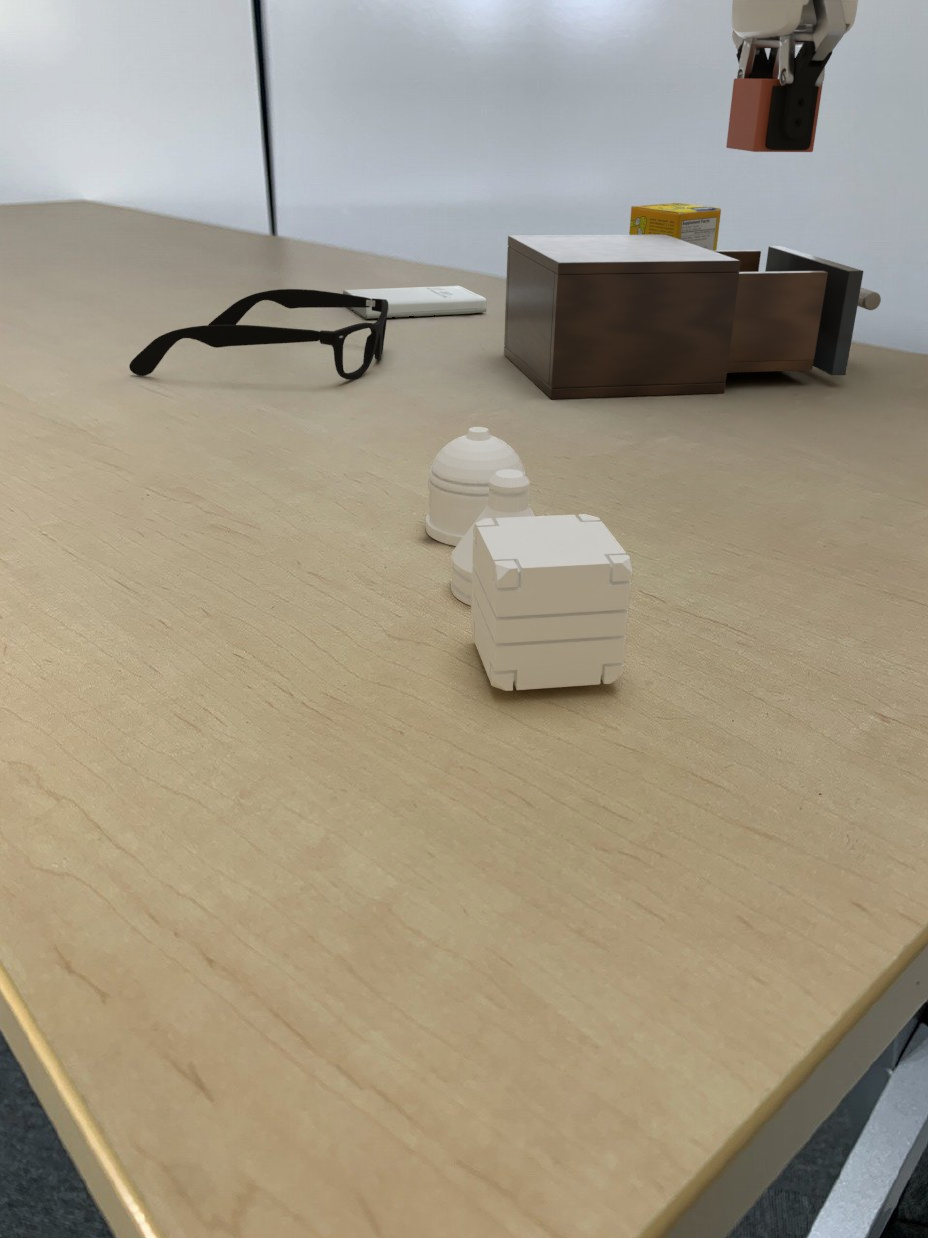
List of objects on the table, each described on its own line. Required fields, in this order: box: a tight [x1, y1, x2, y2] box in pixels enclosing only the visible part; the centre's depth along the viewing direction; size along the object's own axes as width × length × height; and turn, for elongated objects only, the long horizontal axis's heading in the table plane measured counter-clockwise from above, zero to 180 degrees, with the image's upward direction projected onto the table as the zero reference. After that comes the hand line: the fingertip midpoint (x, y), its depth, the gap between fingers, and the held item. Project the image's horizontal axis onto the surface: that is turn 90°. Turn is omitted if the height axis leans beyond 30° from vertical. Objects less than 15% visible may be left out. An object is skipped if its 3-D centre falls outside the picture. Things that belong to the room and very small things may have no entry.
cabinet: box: [503, 234, 741, 400], centre depth 86 cm, size 14×15×10 cm
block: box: [725, 77, 824, 153], centre depth 79 cm, size 5×5×5 cm
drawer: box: [711, 245, 882, 376], centre depth 88 cm, size 17×13×8 cm
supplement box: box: [628, 202, 722, 250], centre depth 102 cm, size 6×6×11 cm
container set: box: [425, 426, 633, 692], centre depth 49 cm, size 20×5×6 cm, turn 10°
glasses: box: [128, 288, 388, 381], centre depth 88 cm, size 17×18×5 cm
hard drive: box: [342, 285, 488, 320], centre depth 110 cm, size 2×8×12 cm
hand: (769, 144), depth 79 cm, fingers closed on block, 4 cm apart
